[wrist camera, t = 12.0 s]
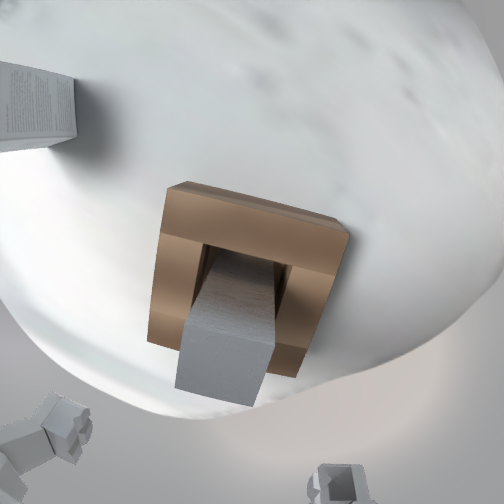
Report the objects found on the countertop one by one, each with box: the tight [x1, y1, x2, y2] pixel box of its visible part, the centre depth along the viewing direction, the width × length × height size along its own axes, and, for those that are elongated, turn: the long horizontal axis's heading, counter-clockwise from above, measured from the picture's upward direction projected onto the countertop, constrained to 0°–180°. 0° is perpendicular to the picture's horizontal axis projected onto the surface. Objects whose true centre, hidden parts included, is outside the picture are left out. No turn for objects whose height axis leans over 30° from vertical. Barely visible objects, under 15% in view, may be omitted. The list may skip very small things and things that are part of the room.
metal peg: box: [175, 248, 275, 407], centre depth 19 cm, size 4×4×12 cm
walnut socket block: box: [147, 181, 350, 378], centre depth 24 cm, size 12×12×5 cm
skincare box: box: [0, 61, 77, 153], centre depth 17 cm, size 6×4×12 cm
